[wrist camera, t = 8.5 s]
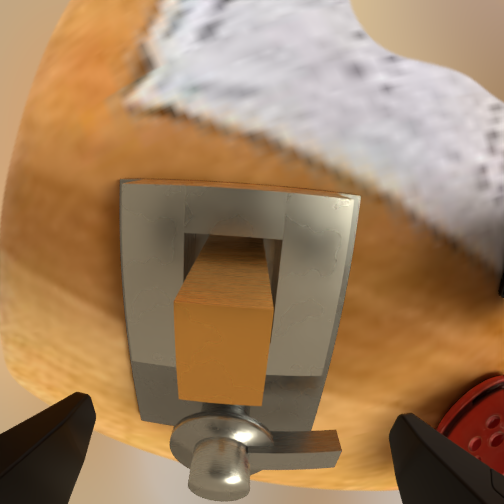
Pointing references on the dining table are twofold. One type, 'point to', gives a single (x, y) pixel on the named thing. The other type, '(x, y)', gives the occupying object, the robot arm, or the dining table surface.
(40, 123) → the dining table surface
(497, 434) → the plant pot
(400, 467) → the robot arm
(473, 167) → the dining table surface
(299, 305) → the grey metal frame fixture
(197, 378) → the rectangular wooden peg
